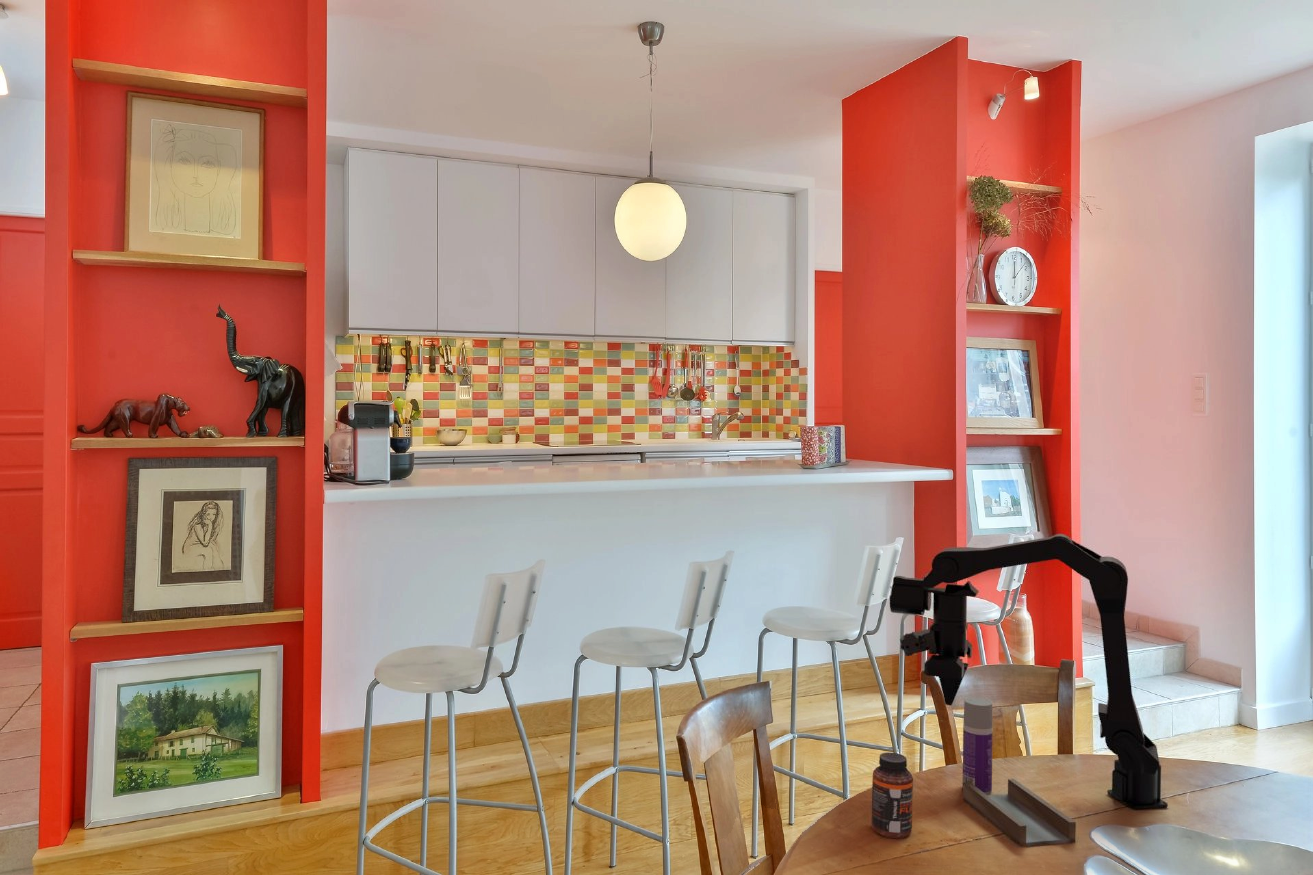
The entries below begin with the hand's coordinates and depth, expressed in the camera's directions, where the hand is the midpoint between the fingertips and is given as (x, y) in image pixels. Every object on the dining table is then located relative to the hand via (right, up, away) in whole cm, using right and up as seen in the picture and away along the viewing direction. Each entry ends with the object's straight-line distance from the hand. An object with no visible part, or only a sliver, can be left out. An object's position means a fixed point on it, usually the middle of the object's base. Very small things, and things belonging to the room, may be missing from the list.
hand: (948, 704), depth 157 cm
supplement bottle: (-17, -12, -25) cm, 33 cm away
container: (+2, -12, -10) cm, 15 cm away
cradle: (+4, -12, -21) cm, 24 cm away
